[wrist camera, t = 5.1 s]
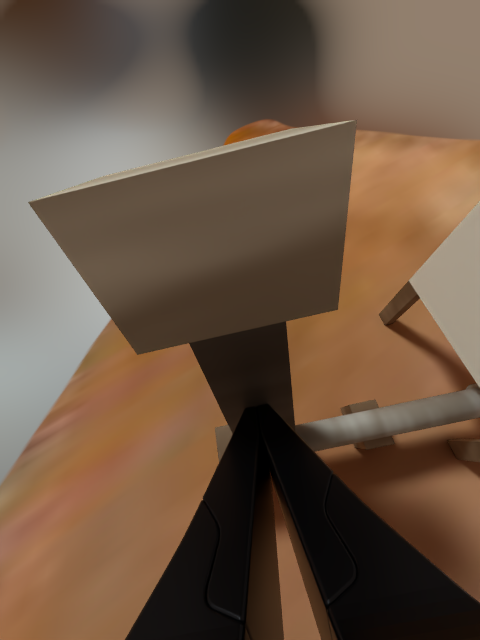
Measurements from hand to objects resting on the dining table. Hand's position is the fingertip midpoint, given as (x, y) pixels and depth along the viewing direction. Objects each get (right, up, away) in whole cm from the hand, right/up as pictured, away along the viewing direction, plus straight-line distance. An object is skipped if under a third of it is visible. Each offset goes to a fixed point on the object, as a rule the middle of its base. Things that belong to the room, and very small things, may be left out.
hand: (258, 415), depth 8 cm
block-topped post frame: (+6, -3, +5) cm, 8 cm away
